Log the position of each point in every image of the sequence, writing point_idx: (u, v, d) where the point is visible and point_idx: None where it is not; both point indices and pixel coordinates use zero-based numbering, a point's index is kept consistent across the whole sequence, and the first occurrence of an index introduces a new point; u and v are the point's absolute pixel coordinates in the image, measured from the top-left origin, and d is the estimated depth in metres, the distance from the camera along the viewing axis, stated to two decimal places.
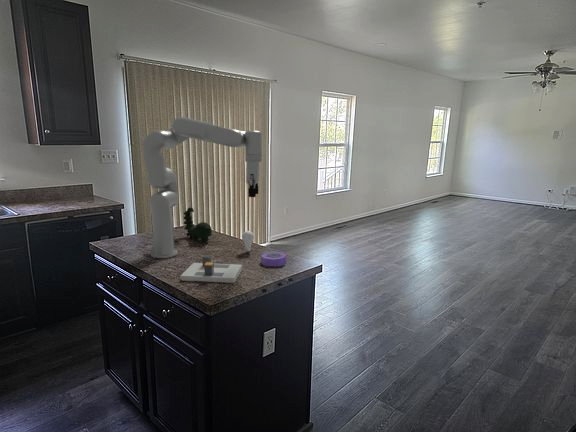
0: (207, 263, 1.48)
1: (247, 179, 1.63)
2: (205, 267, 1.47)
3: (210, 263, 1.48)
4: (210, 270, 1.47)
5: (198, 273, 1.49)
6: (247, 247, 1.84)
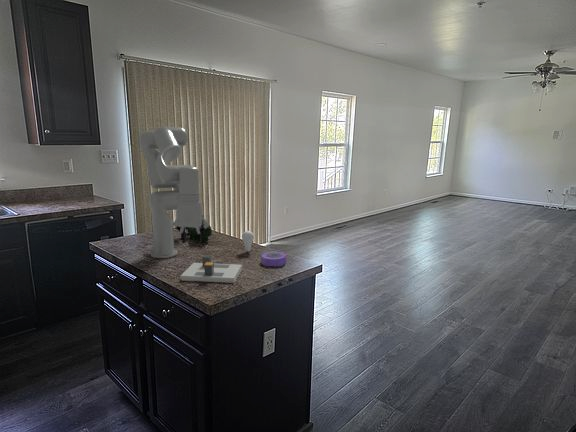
0: (207, 263, 1.48)
1: (201, 222, 1.42)
2: (205, 267, 1.47)
3: (210, 263, 1.48)
4: (210, 270, 1.47)
5: (198, 273, 1.49)
6: (247, 247, 1.84)
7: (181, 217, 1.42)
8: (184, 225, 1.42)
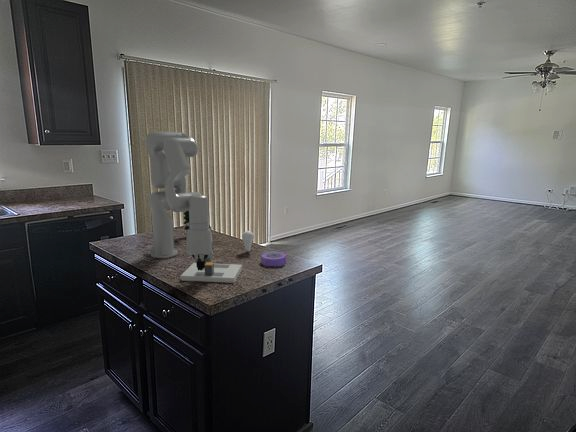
0: (207, 263, 1.48)
1: (210, 249, 1.44)
2: (205, 267, 1.47)
3: (210, 263, 1.48)
4: (210, 270, 1.47)
5: (198, 273, 1.49)
6: (247, 247, 1.84)
7: (191, 245, 1.44)
8: (194, 252, 1.44)
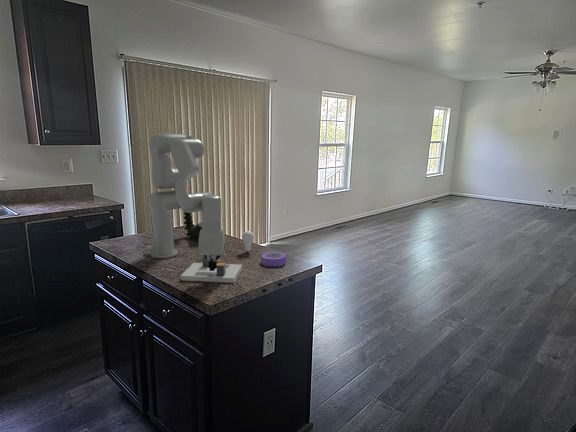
0: (219, 263, 1.47)
1: (222, 250, 1.44)
2: (217, 268, 1.46)
3: (222, 263, 1.47)
4: (222, 271, 1.46)
5: (198, 273, 1.49)
6: (247, 247, 1.84)
7: (203, 245, 1.43)
8: (206, 253, 1.44)
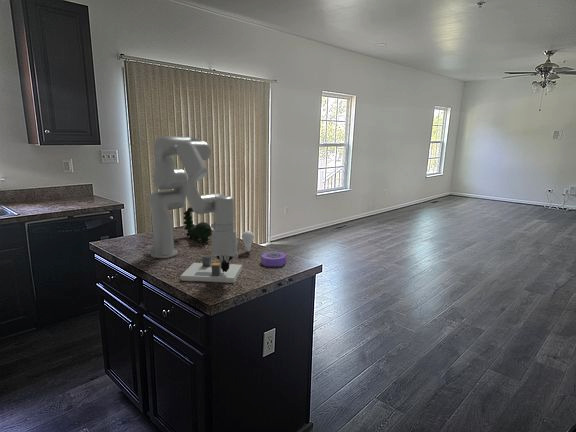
0: (214, 263, 1.48)
1: (235, 251, 1.44)
2: (212, 267, 1.46)
3: (217, 263, 1.48)
4: (217, 270, 1.46)
5: (198, 273, 1.49)
6: (247, 247, 1.84)
7: (216, 246, 1.43)
8: (219, 254, 1.44)
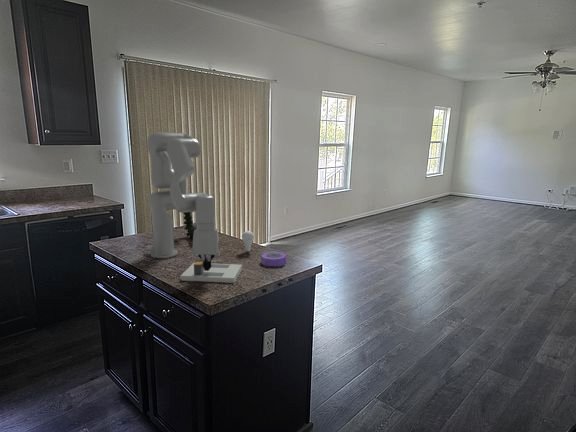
0: (197, 263, 1.48)
1: (217, 249, 1.44)
2: (194, 267, 1.47)
3: (200, 263, 1.48)
4: (199, 270, 1.47)
5: None
6: (247, 247, 1.84)
7: (197, 245, 1.44)
8: (200, 253, 1.44)
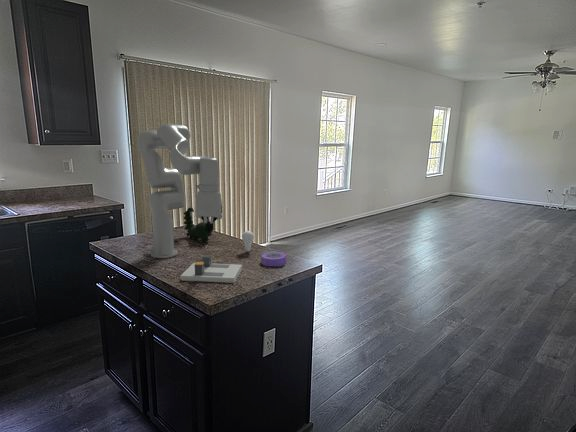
0: (197, 263, 1.48)
1: (219, 212, 1.46)
2: (195, 267, 1.47)
3: (200, 263, 1.48)
4: (200, 270, 1.47)
5: None
6: (247, 247, 1.84)
7: (200, 206, 1.46)
8: (203, 214, 1.46)
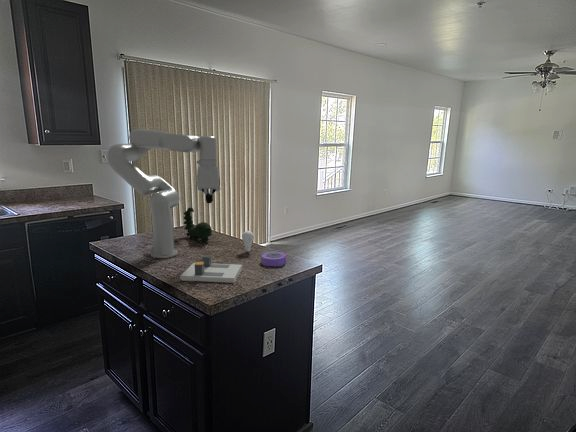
0: (197, 263, 1.48)
1: (218, 184, 1.66)
2: (195, 267, 1.47)
3: (200, 263, 1.48)
4: (200, 270, 1.47)
5: None
6: (247, 247, 1.84)
7: (201, 179, 1.65)
8: (203, 186, 1.66)
